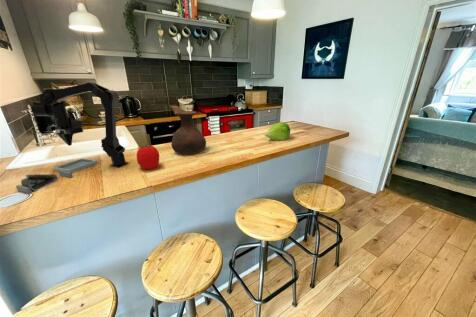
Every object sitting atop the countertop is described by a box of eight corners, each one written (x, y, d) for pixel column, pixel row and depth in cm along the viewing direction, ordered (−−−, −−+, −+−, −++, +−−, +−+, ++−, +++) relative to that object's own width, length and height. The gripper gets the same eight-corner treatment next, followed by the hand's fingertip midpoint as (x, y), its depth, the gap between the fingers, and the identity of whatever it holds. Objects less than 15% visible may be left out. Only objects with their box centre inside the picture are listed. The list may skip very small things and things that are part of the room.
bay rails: (73, 178, 98) (71, 172, 97) (29, 195, 84) (26, 189, 83) (62, 175, 101) (60, 170, 100) (18, 192, 86) (15, 185, 85)
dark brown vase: (203, 146, 145) (200, 104, 135) (209, 156, 126) (206, 107, 116) (172, 150, 139) (166, 105, 128) (173, 160, 120) (166, 109, 109)
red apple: (151, 174, 102) (147, 149, 97) (133, 171, 106) (128, 147, 101) (166, 165, 112) (163, 143, 108) (149, 163, 116) (145, 141, 112)
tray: (97, 164, 115) (96, 160, 115) (69, 174, 102) (68, 170, 101) (83, 161, 119) (82, 158, 118) (54, 171, 106) (53, 167, 105)
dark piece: (48, 179, 98) (16, 171, 87) (59, 175, 96) (28, 166, 86) (43, 198, 93) (9, 192, 83) (54, 194, 92) (21, 188, 82)
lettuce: (258, 142, 156) (259, 122, 150) (282, 138, 164) (284, 119, 159) (269, 147, 143) (270, 125, 138) (294, 143, 152) (296, 123, 147)
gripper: (89, 114, 105) (97, 142, 110) (66, 112, 111) (74, 140, 116) (66, 117, 95) (75, 148, 100) (41, 115, 101) (52, 145, 107)
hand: (70, 145), depth 106 cm, fingers closed
